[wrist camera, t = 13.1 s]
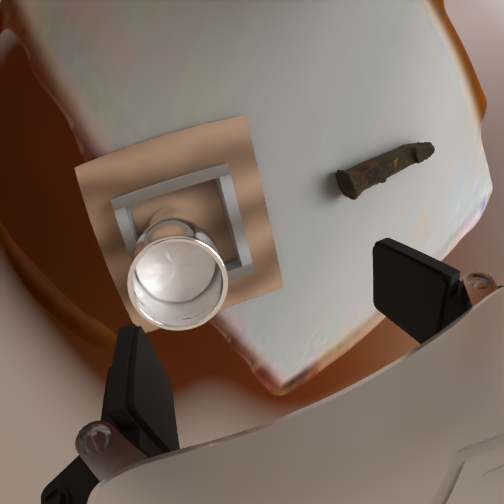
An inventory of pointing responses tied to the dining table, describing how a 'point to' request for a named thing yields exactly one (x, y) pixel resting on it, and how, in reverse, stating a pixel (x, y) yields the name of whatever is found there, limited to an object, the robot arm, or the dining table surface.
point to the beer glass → (176, 272)
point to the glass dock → (185, 203)
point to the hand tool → (381, 168)
